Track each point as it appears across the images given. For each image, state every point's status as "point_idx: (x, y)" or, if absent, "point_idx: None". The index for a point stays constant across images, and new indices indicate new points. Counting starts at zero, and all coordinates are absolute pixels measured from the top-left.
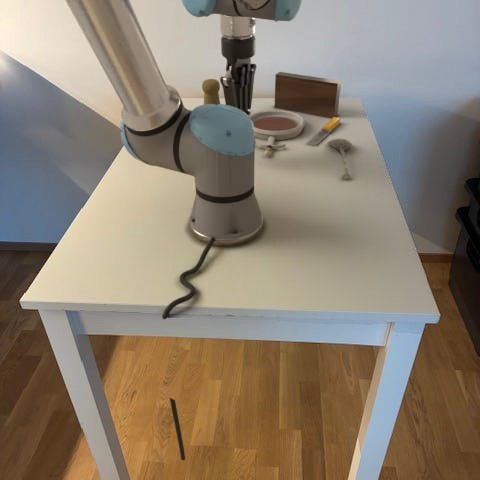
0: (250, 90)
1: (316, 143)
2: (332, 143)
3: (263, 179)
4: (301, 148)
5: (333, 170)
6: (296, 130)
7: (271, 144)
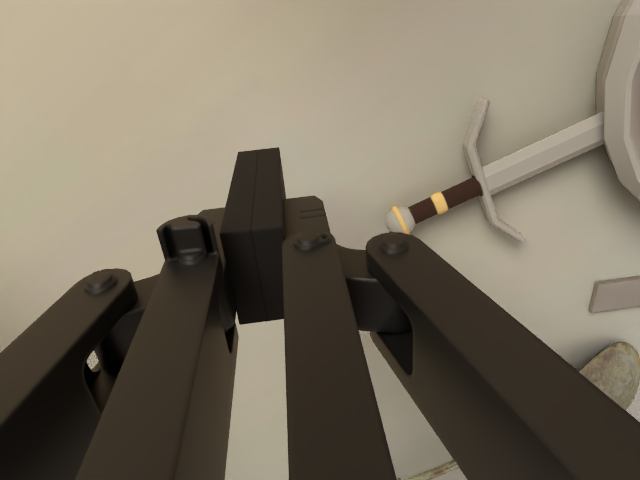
0: (464, 473)
1: (602, 308)
2: None
3: None
4: (543, 279)
5: (407, 436)
6: None
7: (499, 187)
